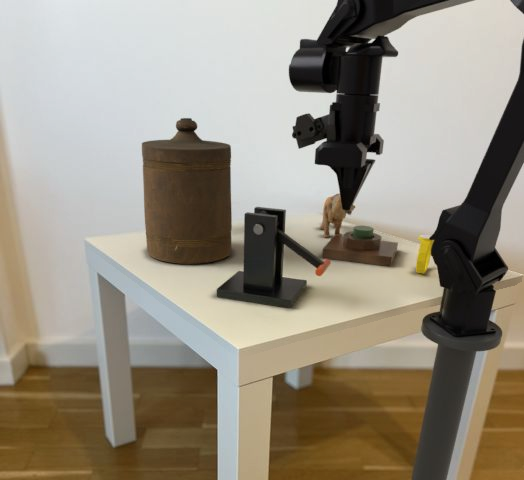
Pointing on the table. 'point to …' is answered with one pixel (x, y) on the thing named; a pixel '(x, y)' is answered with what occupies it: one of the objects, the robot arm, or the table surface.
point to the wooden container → (187, 197)
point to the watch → (424, 253)
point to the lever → (302, 251)
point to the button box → (361, 249)
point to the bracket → (263, 264)
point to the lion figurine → (334, 214)
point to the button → (363, 232)
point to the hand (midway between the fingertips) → (346, 209)
